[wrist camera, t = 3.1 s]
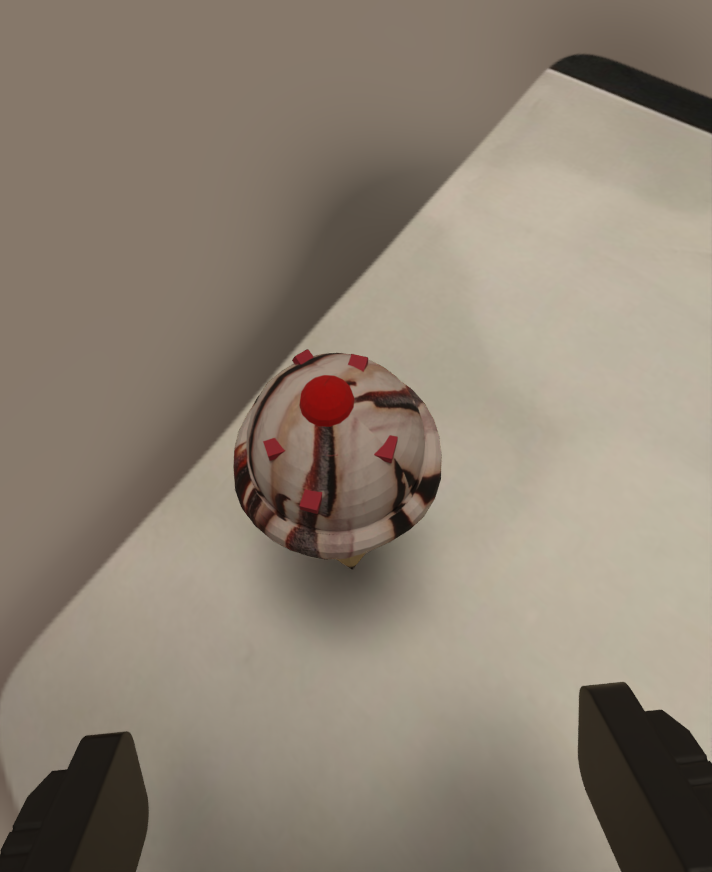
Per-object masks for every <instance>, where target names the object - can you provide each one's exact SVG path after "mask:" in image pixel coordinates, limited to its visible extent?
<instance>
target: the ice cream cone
mask: <svg viewBox="0 0 712 872" xmlns="http://www.w3.org/2000/svg"><path fill="white" fill-rule="evenodd" d="M292 361H293V362H294V364H292V365H291V366H289V367H288V368H286V369H284V370H283V371H281V372H280V373H279V374H277V375H276V376H275V377H274V378H272V379H271V380H270V381H269V382H268V383H267V384H266V386H265V388H264V389H263V391H262V392H261V394H260V395H259V396H258V397H257V399H256V401H255V403H254V405H253V406H252V408H251V409H250V411H249V412H248V414H247V416H246V418H245V420H244V422H243V423H242V425H241V427H240V429H239V433H238V436H237V440H236V444H235V450H234V479H235V491H236V493H237V496H238V499H239V502H240V505H241V507H242V509H243V510H244V512H245V513H246V514H247V516H248V517H249V518H250V520H251V521H252V522H253V523H254V525H255V526H256V527H257V528H258V529H260V530H261V531H262V532H263V533H264V534H265V535H267V536H268V537H269V538H270V539H271V540H273V541H274V542H276V543H278V544H280V545H282V546H284V547H285V548H287V549H289V550H291V551H294V552H298V553H301V554H304V555H307V556H311V557H316V558H321V559H327V560H328V559H336V560H338V561H340V562H341V563H343V564H344V565H346V566H347V567H349V568H350V569H353V568H354V567H355V566H356V565H357V563H358V562H359V561H360V560H361V558H362V557H363V556H364V555H365V554H366V552H369V551H372V550H374V549H376V548H378V547H380V546H382V545H384V544H387V543H389V542H391V541H392V540H394V539H396V538H397V537H399V536H400V535H402V534H404V533H405V532H407V531H408V530H410V529H411V528H412V527H413V526H414V525H415V524H417V523H418V522H419V521H420V520H421V519H422V518H423V517H424V516H425V514H426V512H427V511H428V509H429V507H430V506H431V504H432V502H433V501H434V499H435V497H436V493H437V490H438V487H439V483H440V480H441V458H442V454H441V446H440V438H439V434H438V431H437V428H436V425H435V422H434V419H433V417H432V416H431V414H430V412H429V410H428V408H427V407H426V405H425V403H424V402H423V401H422V400H421V399H420V398H419V397H418V396H417V394H416V393H415V392H414V391H413V390H412V389H411V388H409V387H408V386H407V385H405V384H404V383H403V382H401V381H400V380H399V379H398V378H397V377H396V376H395V375H393V374H392V373H391V372H389V371H388V370H387V369H385V368H384V367H382V366H380V365H378V364H376V363H374V362H372V361H370V360H368V357H363V356H359V355H354V354H342V353H329V354H320V355H316V356H313V355H312V354H311V353H310V351H309V350H308V349H307V350H305V351H303V352H302V353H300V354H298V355H296V356H295V357H294V358H293V360H292Z"/></svg>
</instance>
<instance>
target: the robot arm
mask: <svg viewBox="0 0 712 872" xmlns="http://www.w3.org/2000/svg"><path fill="white" fill-rule="evenodd" d="M578 760H579V767H580V772H581V777H582V781H583V784H584V787H585V790H586V793H587V795H588V797H589V800H590V802H591V804H592V806H593V809H594V811H595V813H596V815H597V818H598V820H599V822H600V824H601V827H602V829H603V831H604V833H605V836H606V838H607V840H608V843H609V845H610V847H611V849H612V852H613V854H614V856H615V858H616V861H617V863H618V865H619V867H620V870H621V872H712V763H711V762H710V761H708V760H707V756H706V754H705V753H704V751H703V750H702V749H701V747H700V746H699V744H698V743H697V741H696V740H695V738H694V737H693V736H692V734H691V733H690V731H689V730H688V729H687V728H685V727H684V726H683V725H681V724H680V723H679V722H677V721H676V720H675V719H673V718H672V717H671V716H670V715H668V714H667V713H666V712H664V711H663V710H654V711H644V709H643V708H642V706H641V705H640V703H639V701H638V700H637V698H636V697H635V695H634V693H633V692H632V690H631V689H630V687H629V686H628V685H627V684H626V683H625V682H617V683H607V684H598V685H588V686H582V687H581V689H580V692H579V726H578ZM148 817H149V806H148V797H147V793H146V789H145V785H144V781H143V776H142V772H141V768H140V764H139V760H138V756H137V752H136V748H135V744H134V740H133V737H132V735H131V734H130V733H129V732H127V731H126V732H117V733H107V734H97V735H87V736H85V737H83V738H82V740H81V741H80V743H79V745H78V747H77V749H76V751H75V754H74V756H73V758H72V760H71V762H70V764H69V767H68V769H67V770H57V771H52V772H51V773H50V774H49V775H48V776H47V777H46V778H45V779H44V780H43V781H42V782H41V783H40V784H39V785H38V786H37V787H36V789H35V790H34V791H33V792H32V793H31V794H30V795H29V796H28V797H27V799H26V801H25V803H24V805H23V807H22V809H21V811H20V813H19V815H18V817H17V819H16V821H15V823H14V825H13V830H12V832H10V833H9V835H8V836H7V839H6V840H5V843H4V844H3V847H2V848H1V854H0V872H136V870H137V866H138V863H139V859H140V856H141V852H142V849H143V845H144V842H145V838H146V834H147V828H148Z"/></svg>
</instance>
